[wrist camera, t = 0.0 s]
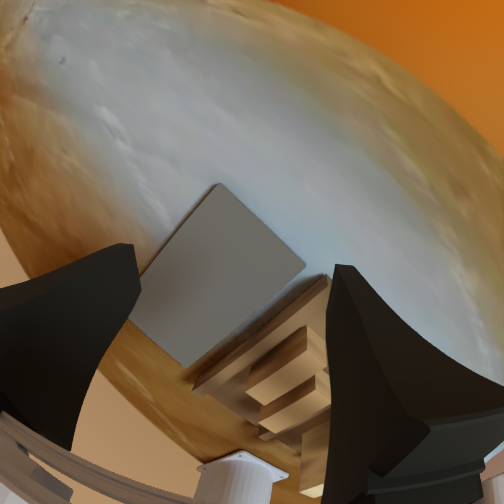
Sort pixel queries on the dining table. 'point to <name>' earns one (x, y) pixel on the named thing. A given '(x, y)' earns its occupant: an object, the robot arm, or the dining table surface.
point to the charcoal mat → (211, 277)
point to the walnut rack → (259, 346)
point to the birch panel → (314, 460)
